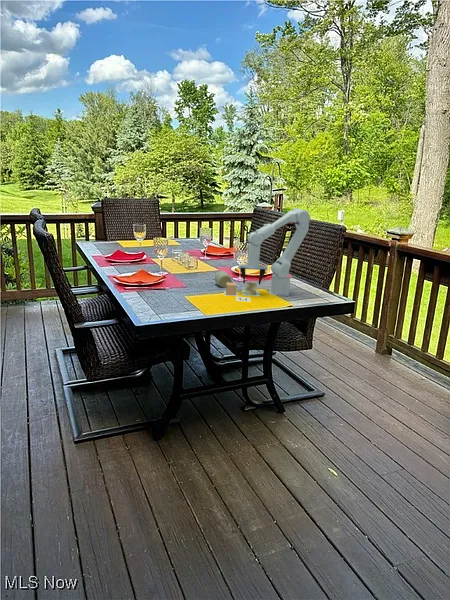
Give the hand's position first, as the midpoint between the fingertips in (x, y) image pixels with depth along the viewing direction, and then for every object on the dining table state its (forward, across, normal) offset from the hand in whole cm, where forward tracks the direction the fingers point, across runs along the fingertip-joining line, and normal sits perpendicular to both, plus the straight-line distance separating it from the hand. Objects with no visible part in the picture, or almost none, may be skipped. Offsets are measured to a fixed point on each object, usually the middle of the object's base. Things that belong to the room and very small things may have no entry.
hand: (251, 283), depth 218 cm
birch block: (+5, 0, 0) cm, 5 cm away
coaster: (+6, 0, 0) cm, 6 cm away
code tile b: (+5, -10, -3) cm, 12 cm away
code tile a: (+5, -4, -11) cm, 13 cm away
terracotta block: (+5, -10, -3) cm, 12 cm away
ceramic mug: (+6, -13, +12) cm, 19 cm away
